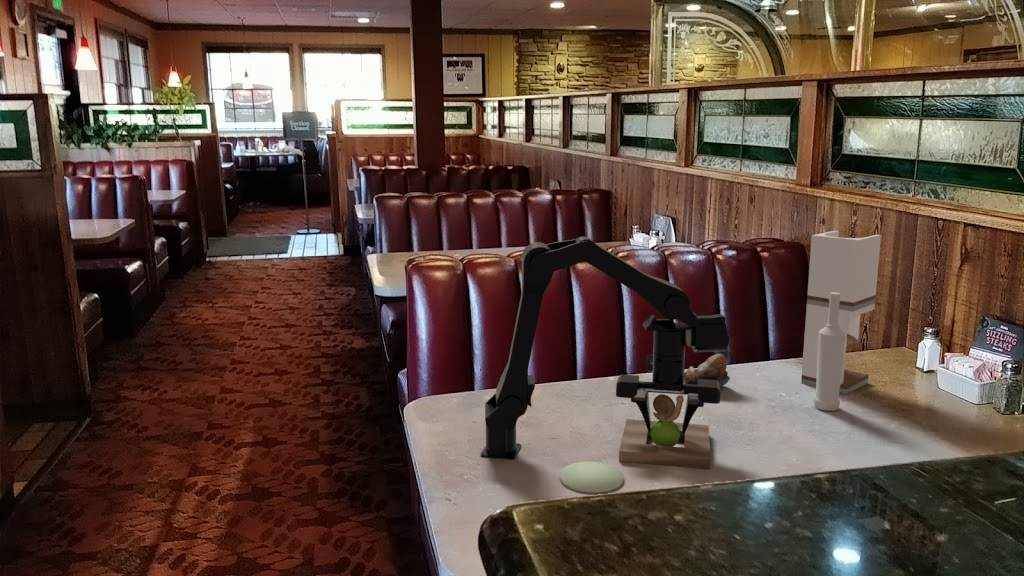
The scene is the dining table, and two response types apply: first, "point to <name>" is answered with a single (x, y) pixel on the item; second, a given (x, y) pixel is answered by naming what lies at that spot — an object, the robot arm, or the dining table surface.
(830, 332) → the bottle
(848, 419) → the dining table surface
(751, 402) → the dining table surface
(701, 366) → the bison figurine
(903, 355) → the dining table surface
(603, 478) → the felt coaster
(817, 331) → the white tall stand
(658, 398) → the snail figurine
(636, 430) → the frame
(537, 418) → the dining table surface
